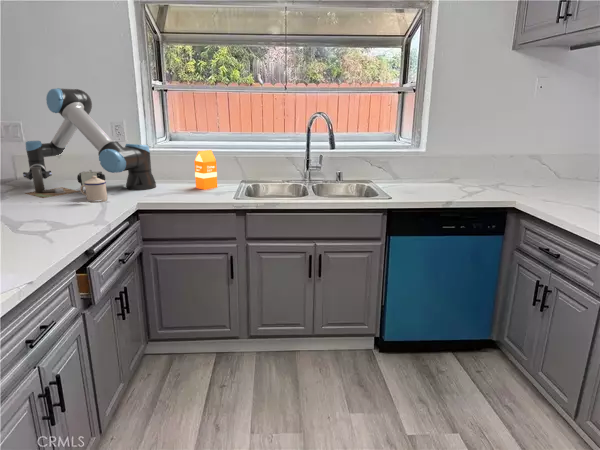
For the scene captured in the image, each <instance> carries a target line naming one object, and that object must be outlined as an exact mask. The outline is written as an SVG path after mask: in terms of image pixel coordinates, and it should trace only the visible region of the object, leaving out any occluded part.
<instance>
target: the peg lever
mask: <svg viewBox="0 0 600 450" xmlns="http://www.w3.org/2000/svg"><path fill="white" fill-rule="evenodd" d="M31 170H32V176H33V178H32V180H33V182H32V183H33V187H34V192H36V193H40V192H55V193H62V192H64V190H63V188H64V187H63V188H60V187H56V188H57V189H54V188H48V189H45V184H44V178H43V177H42V171H41V167H31Z"/></svg>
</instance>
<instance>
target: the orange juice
mask: <svg viewBox="0 0 600 450" xmlns="http://www.w3.org/2000/svg"><path fill="white" fill-rule="evenodd" d="M217 167H218V166H217V160H216V158H215V155H214V153H213V151H212V149H207V150H198V151H197V153H196V156H195V159H194V177H195V188H196V189H200V190H205V191H206V190H210V189H215V188H218V172H217V171H218V169H217Z"/></svg>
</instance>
